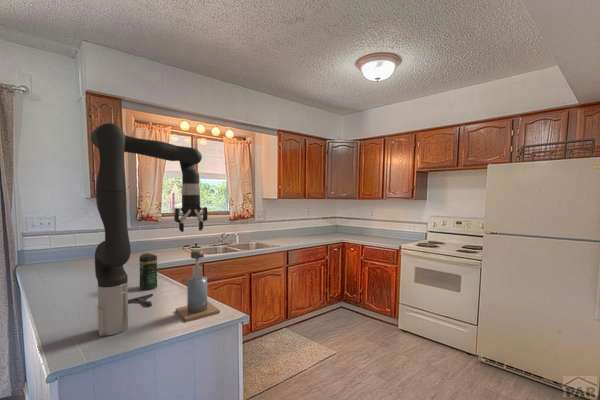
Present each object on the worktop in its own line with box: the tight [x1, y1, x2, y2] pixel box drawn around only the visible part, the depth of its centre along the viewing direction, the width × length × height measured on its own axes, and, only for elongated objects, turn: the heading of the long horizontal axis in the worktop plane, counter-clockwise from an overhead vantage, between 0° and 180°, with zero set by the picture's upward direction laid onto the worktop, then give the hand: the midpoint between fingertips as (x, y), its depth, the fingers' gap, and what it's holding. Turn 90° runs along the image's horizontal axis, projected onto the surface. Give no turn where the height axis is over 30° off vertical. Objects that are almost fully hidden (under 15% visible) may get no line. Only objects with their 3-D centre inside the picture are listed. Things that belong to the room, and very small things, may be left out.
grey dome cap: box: [190, 250, 205, 268], centre depth 121 cm, size 5×8×7 cm, turn 39°
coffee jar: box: [138, 252, 158, 291], centre depth 156 cm, size 10×8×19 cm
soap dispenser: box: [175, 265, 221, 323], centre depth 123 cm, size 14×14×19 cm
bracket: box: [128, 293, 154, 308], centre depth 134 cm, size 14×15×3 cm
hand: (191, 231), depth 128 cm, fingers open, 7 cm apart
